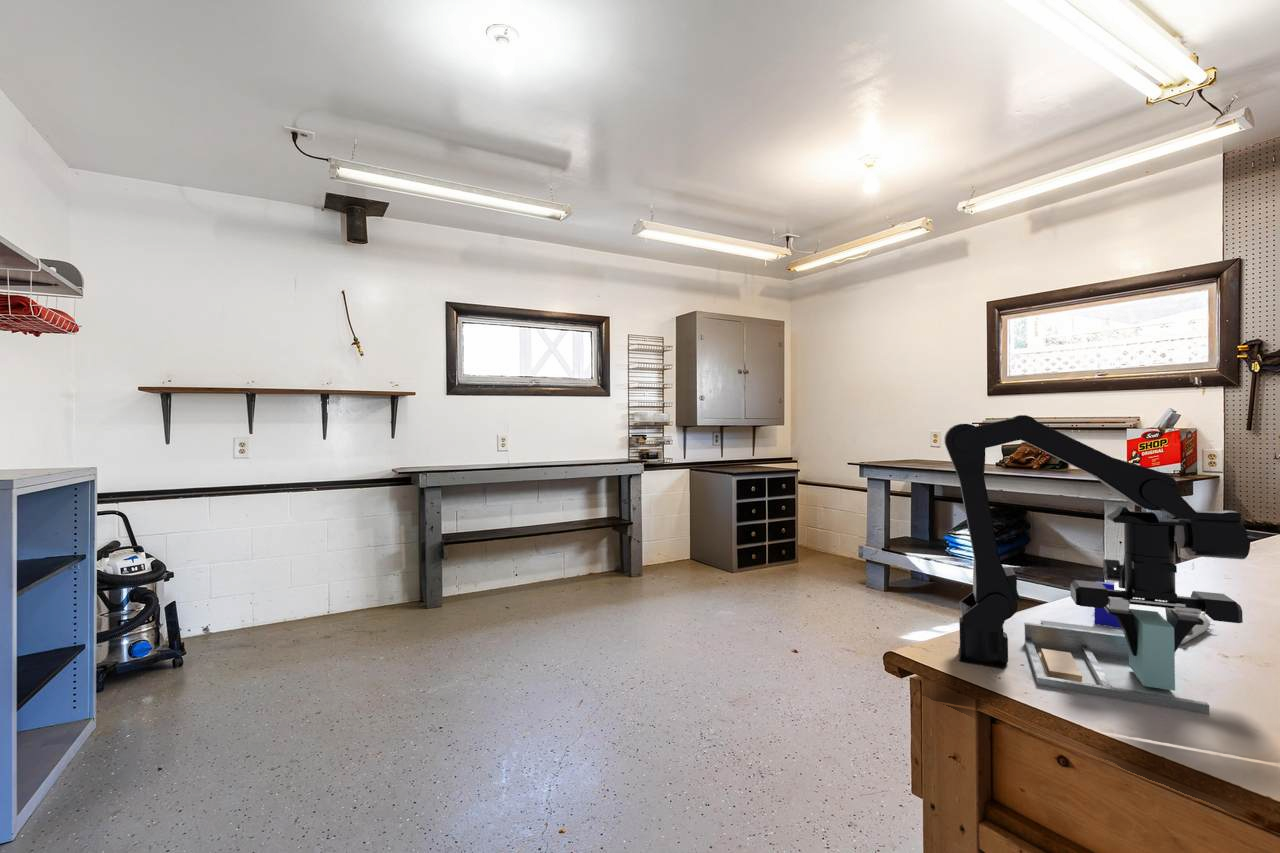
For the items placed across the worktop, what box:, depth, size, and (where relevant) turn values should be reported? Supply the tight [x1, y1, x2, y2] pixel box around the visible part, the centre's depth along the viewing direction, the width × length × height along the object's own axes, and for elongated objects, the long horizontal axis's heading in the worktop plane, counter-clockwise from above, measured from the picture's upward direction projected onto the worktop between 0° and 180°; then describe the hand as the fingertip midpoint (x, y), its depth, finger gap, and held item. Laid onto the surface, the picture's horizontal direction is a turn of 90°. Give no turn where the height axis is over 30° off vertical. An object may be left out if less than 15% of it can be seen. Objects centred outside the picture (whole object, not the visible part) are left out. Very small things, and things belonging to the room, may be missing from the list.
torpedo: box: [1179, 612, 1216, 646], centre depth 107 cm, size 18×5×7 cm, turn 122°
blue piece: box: [1093, 580, 1122, 629], centre depth 117 cm, size 12×4×6 cm, turn 141°
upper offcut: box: [1040, 647, 1083, 682], centre depth 92 cm, size 4×10×1 cm, turn 151°
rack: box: [1023, 622, 1210, 715], centre depth 90 cm, size 19×19×4 cm
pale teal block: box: [1128, 608, 1176, 692], centre depth 87 cm, size 4×8×9 cm, turn 151°
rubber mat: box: [1040, 620, 1124, 635], centre depth 105 cm, size 14×14×1 cm
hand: (1150, 657), depth 87 cm, fingers closed on pale teal block, 3 cm apart
